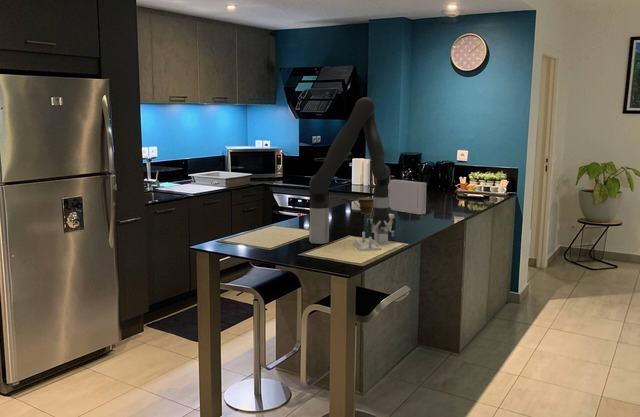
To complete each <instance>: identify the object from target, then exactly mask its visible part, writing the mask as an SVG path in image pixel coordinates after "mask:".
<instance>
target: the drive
mask: <svg viewBox="0 0 640 417" xmlns="http://www.w3.org/2000/svg"><path fill="white" fill-rule="evenodd" d="M374 240H375V241H376V242H377V243H379V246H387V245H389V240H388V232H386V231H385V230H383V229H378V228H377V229H376V230H375V231H374Z"/></svg>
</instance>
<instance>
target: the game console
mask: <svg viewBox="0 0 640 417" xmlns="http://www.w3.org/2000/svg"><path fill="white" fill-rule="evenodd" d="M389 209H390V210H391V211H397V212H403V213H409V214H414V215H415V214H416V215H425V214H426V212H427V211H426V210H427V182H421V181H411V180H401V179H390V182H389Z"/></svg>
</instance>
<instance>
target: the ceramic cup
mask: <svg viewBox="0 0 640 417" xmlns="http://www.w3.org/2000/svg"><path fill="white" fill-rule="evenodd" d="M355 202H358V204H359V205H358V204H356V203H355ZM353 204H354V205H356V206H357V207H358V208H359V209H360V214H361V215H362V214H365V215H364V216H371V215H373V204H374V197H359V198H358V199H355V200H354V201H353ZM370 214H371V215H370Z"/></svg>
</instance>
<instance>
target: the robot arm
mask: <svg viewBox="0 0 640 417" xmlns="http://www.w3.org/2000/svg"><path fill="white" fill-rule="evenodd" d="M375 107H376V106H375V103H374V101H373V99H371V98H370V97H368V96H367V97H366V96H365V97H360V98H359V99H358V100H357V101H356V102H355V105H354V107H353V109H352V112H351V114H350V115H349V118H348V119H347V121H346V122H345V124H344V125H343V127H342V128H341V130H340V131H339V132H338V133H337V135H336V136H335V138H334V140H333V142H332V144H330V147H329V149H328V151H327V154H326V155H325V159H324V161H323V163H322V165H321V167H319V169H318V171H317V172H316V174H314V175H312V176H311V178H310V180H309V223H308V224H309V225H308V227H309V228H308V229H309V230H308V232H309V235H308V236H309V237H308V238H309V243H311V244H315V245H318V244H319V245H320V244H321V245H322V244H327V243H328V244H329V242H330V206H329V205H330V201H329V199H330V198H329V195H330V194H329V187H330V185H331V183H332V180H333V178H335V175H336V173H337V171H338V170H339V169H340V167H341V166H342V164H343V163H344V162H345V160H346V159H347V157H348V155H349V154H350V152H351V150H352V148H353V147H354V145H355V144H356V141H357V138H358V137H359V134H360V131H361V129H362V128H363V132H364V136H365V142H366V146H367V152H368V154H369V157H370V165H371V173H372V176H373V177H374V178H375V186H374V189H373V195H374V196H373V198H374V204H373V209H372V215H373V217H372V218H367V219H366V231H367V232H368V233H370V237H372V239H374V231H375V230H376V229H378V227H386V228H387V229H388V241H389V240H391V239H392V237H391V232H392V231H394V232H395V231H396V226H397V225H396V223H397V222H396V218H395V217H394V218H389V214H390V207H389V182H390V180H391V169H390V167H389V166H388V165H387V164H386V163H385V151H384V146H383V144H382V139H381V137H380V134H379V130H378V127H377V123H376V117H375V116H376V115H375ZM389 221H391V222H392V228H390V226H389V225H388V223H389ZM372 222H373V224H372ZM371 224H372V226H371Z"/></svg>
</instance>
